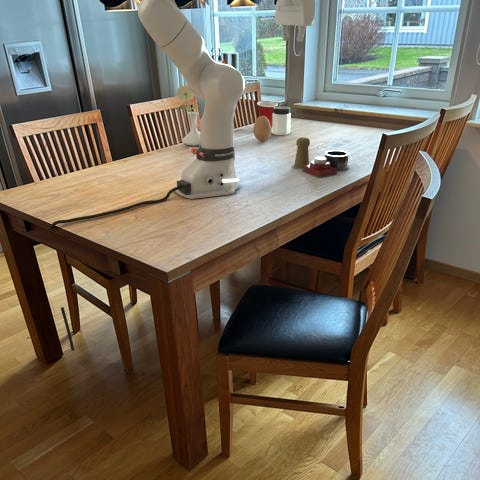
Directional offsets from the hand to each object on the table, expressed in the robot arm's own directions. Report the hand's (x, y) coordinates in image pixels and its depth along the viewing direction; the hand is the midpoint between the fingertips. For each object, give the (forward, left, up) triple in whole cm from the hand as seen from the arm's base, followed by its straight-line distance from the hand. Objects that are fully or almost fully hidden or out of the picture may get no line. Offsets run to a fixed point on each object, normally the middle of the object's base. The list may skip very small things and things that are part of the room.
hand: (292, 41), depth 163 cm
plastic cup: (+37, +71, -44) cm, 91 cm away
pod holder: (+18, -7, -44) cm, 48 cm away
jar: (+35, +55, -44) cm, 78 cm away
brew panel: (+9, -9, -44) cm, 45 cm away
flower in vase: (-13, +58, -44) cm, 74 cm away
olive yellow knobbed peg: (+8, +1, -44) cm, 44 cm away
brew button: (+9, -9, -40) cm, 42 cm away
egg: (+18, +46, -44) cm, 66 cm away
